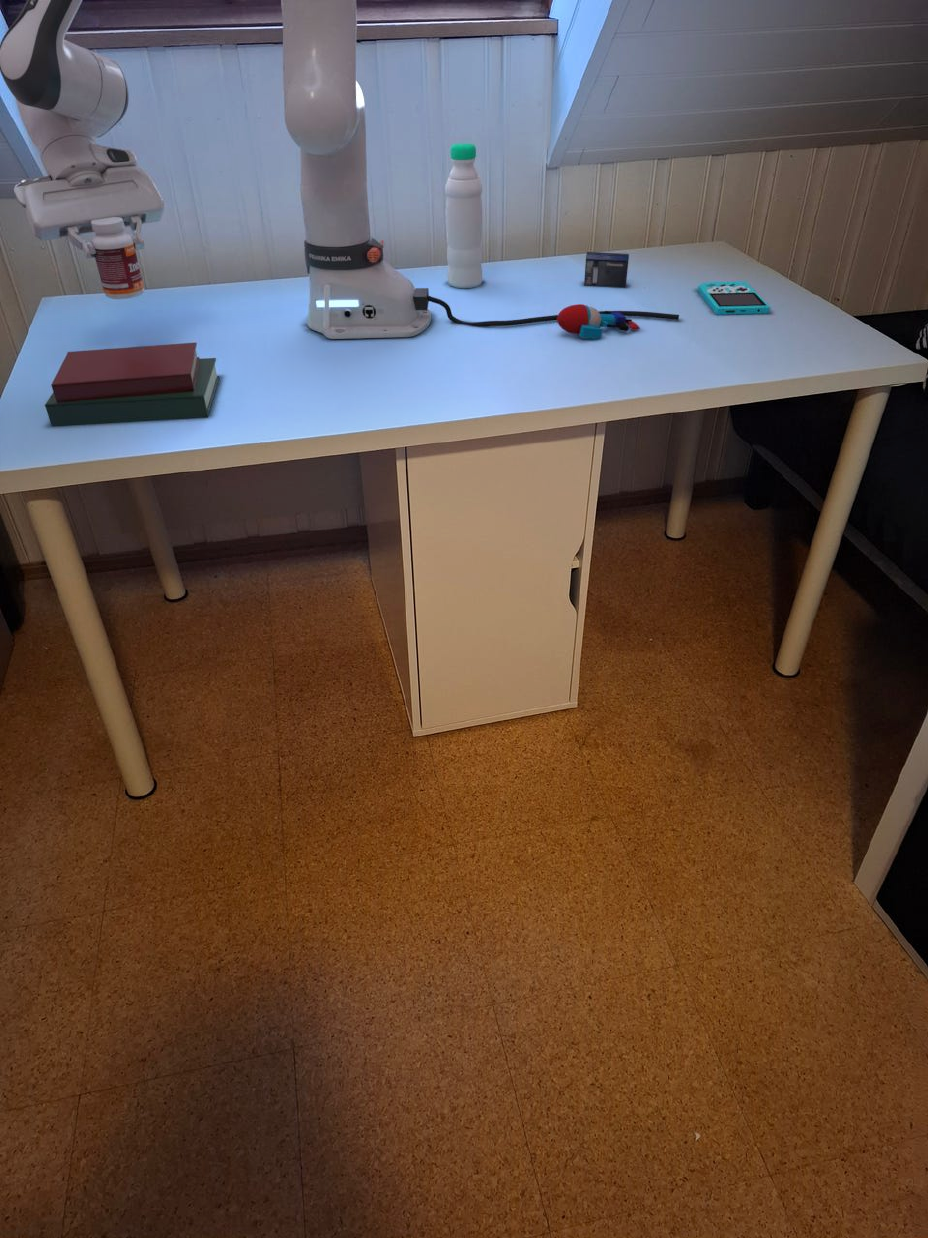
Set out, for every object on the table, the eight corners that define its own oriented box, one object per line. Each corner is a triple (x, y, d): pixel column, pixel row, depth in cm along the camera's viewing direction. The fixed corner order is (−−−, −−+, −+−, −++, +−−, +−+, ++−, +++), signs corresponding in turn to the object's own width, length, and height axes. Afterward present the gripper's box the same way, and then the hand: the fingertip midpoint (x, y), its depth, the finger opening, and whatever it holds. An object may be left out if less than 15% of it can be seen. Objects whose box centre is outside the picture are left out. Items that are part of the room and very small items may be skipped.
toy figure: (618, 327, 158) (546, 324, 152) (626, 300, 155) (552, 296, 149) (639, 344, 152) (564, 341, 147) (647, 316, 149) (572, 312, 144)
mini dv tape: (584, 285, 173) (586, 253, 169) (584, 283, 174) (587, 251, 170) (625, 287, 171) (628, 255, 168) (626, 285, 173) (629, 253, 169)
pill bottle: (144, 298, 137) (126, 223, 130) (103, 301, 136) (83, 226, 129) (146, 286, 141) (129, 213, 135) (107, 290, 140) (87, 217, 134)
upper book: (199, 358, 135) (196, 342, 134) (194, 391, 125) (190, 373, 123) (72, 368, 133) (67, 351, 131) (56, 402, 123) (51, 384, 121)
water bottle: (483, 278, 177) (483, 140, 162) (480, 289, 172) (480, 147, 157) (449, 278, 178) (446, 140, 163) (445, 288, 172) (441, 147, 157)
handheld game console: (745, 286, 171) (747, 279, 170) (771, 313, 158) (772, 306, 157) (695, 288, 170) (696, 280, 170) (716, 314, 158) (717, 307, 157)
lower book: (219, 377, 137) (215, 357, 135) (207, 416, 126) (203, 395, 124) (77, 385, 136) (71, 365, 134) (51, 425, 124) (44, 404, 122)
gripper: (7, 167, 127) (46, 251, 127) (143, 149, 136) (180, 227, 136) (10, 195, 133) (47, 275, 132) (140, 176, 142) (176, 251, 142)
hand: (116, 251), depth 134 cm, fingers closed on pill bottle, 6 cm apart
